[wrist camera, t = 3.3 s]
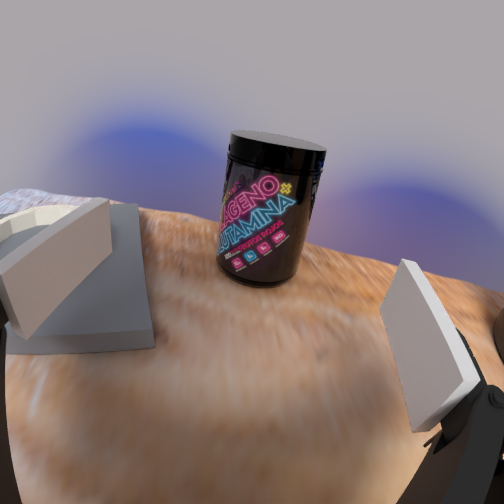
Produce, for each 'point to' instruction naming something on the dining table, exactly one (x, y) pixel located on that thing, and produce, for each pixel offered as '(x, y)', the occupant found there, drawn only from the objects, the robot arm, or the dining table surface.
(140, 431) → the dining table surface
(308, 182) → the supplement container
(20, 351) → the ring board
